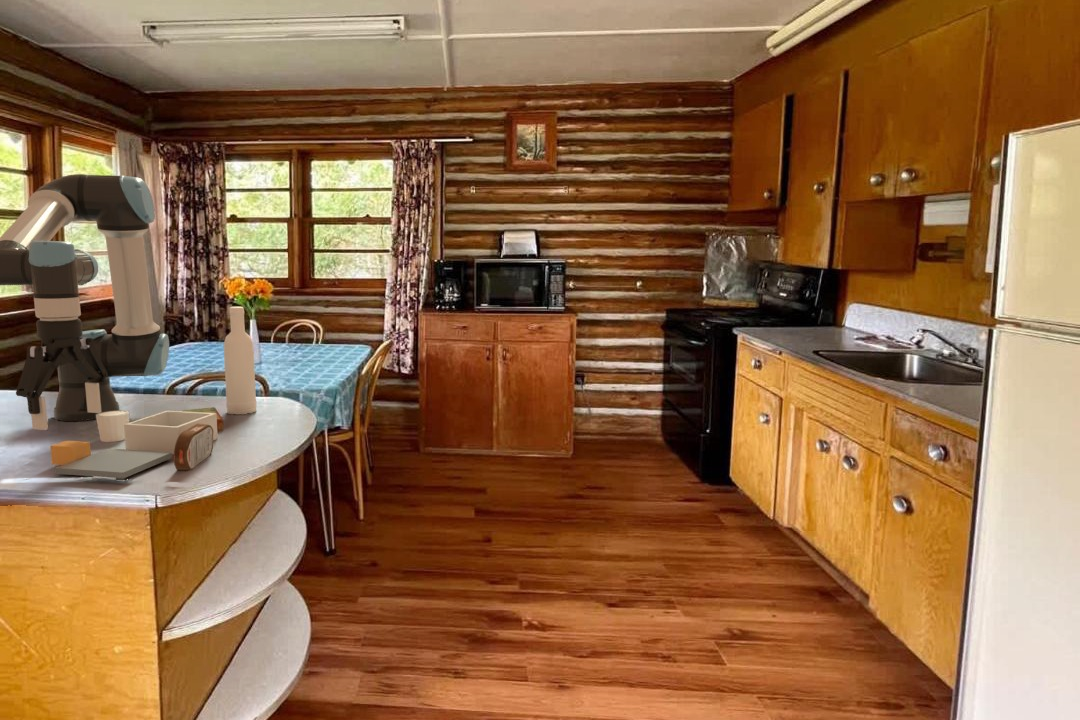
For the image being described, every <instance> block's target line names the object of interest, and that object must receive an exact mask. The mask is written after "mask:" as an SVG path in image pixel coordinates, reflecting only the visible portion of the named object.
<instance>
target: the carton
mask: <svg viewBox="0 0 1080 720" xmlns="http://www.w3.org/2000/svg"><path fill="white" fill-rule="evenodd" d="M182 411H183V412H201V413H216V416H217V432H222V431H224V418H223V417H222V416H221V415H220V413H219V412H218V410H217V408H216V407H215V406H212V407H205V408H203V407H202V408H195V409H194V408H193V409H187V410H182Z"/></svg>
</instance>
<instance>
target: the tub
mask: <svg viewBox="0 0 1080 720" xmlns="http://www.w3.org/2000/svg"><path fill="white" fill-rule="evenodd" d="M183 411H184V410H182V411H179V410H164V411H162V412H159V413H156V414H152V415H149V416H147V417H143V418H141V419H140V418H139V419H136V420H134V421H129V423H127V424H124V430H125V440H124V443H125V450H141V451H157V452H172V456H174V448H175V444H176V441H177V438H178V436H179V435H180V434H181V432H183V431H185V430H187V429H188V428H190V427H192V426H194V425H195V424H198V423H199V424H206V425H210V426H211V427H212V428H213V442H214V441H216V440H218V437H219V435H218V431H217V416H216V413H201V412H183Z"/></svg>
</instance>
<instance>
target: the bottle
mask: <svg viewBox="0 0 1080 720" xmlns="http://www.w3.org/2000/svg"><path fill="white" fill-rule="evenodd" d="M228 313H229V318H230V319H229V320H230V332H229V333H228V334H227V335H226V336H225V338H224V342H223V360H224V376H225V377H224V379H225V397H226V398H225V401H226V404H225V406H226V412H227V414H229V415H233V414H242V415H248V414H247V413H250V414H253V413H252V412H254V413H255V412H257V396H256V395H257V394H256V375H255V372H256V371H255V353H254V342H253V339H252V336H250V334H248V333H247V332H246V329H245V310H244V307H243V306H230V307H229V312H228Z"/></svg>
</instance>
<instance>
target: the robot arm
mask: <svg viewBox="0 0 1080 720" xmlns="http://www.w3.org/2000/svg"><path fill="white" fill-rule="evenodd" d="M155 210H156V209H155V203H154V199H153V196H152V193H151V190H150V188H149V186H148V184H147V183H146V181H144V180H143V179H142V178H139V177H136V176H129V175H127V176H126V175H114V174H113V175H112V174H111V175H110V174H109V175H106V174H105V175H103V174H102V175H101V174H85V173H84V174H83V173H82V174H80V173H75V174H68V175H64V176H61V177H58V178H55V179H53V180H51V181H49V182H46V183H45V184H43V185H42V186H39V188H38V189H36V190H35V191H34V192H33V193H32V194H31V195H30V197H29V199H28V201H27V207H26V209H24V211H23V212H22V213H21V214H20V215H19V216H18V217H17V218H16V219H15V220H14V222H12V224H11V225H10V226H9V227H8V228H7V229H6V230H5V232H4V233H3V234H2V235H0V286H32V293H33V295H32V296H33V302H34V303H33V304H34V313H35V317H36V318H37V319H38V320H37V321H35V322H36V323H35V324H36V334H37V338H38V339H40V340H41V345H40V346H35V345H34V346H33V345H29V346H27V347H26V359H25V362H24V365H23V369H22V371H21V372H22V373H21V375H20V378H19V382H18V385H17V387H16V390H15V395H16V396H17V397H22V398H26V399H27V409H28V411H27V412H28V413H29V414H30V416H31V425H32V429H33V430H41V431H42V430H43V431H46V430H49V425H48V414H47V405H46V397H45V396H41V395H42V394H43V392H44V390H45V388H46V387H47V385H48V383H49V381H50V380H51V377H52V375H53V373H54V371H55V370H57V376H58V385H59V391H58V394H57V398H56V403H55V407H54V408H53V419H54V420H57V421H64V422H81V421H92V420H93V421H94V420H97V419H96V414H98V413H102V412H107V411H121V410H120V404H119V402H118V401H117V399H116V396H115V394H114V391H113V388H112V387H111V381H110V380H111V378H115V377H116V378H118V377H119V378H120V377H121V378H122V377H151V376H158V375H161V374H163V373H164V371H165V369H166V367H167V364H168V360H169V355H170V339H169V335H168V334H167V333H164V332H163V333H162V332H161V331H162V330H161V327H160V325H159V324H157V323H156V322H155V321H154V319H153V318H154V317H153V310H152V301H151V291H150V284H149V283H150V282H149V275H148V274H149V273H148V265H147V264H148V263H147V255H146V250H145V249H146V248H145V240H144V235H145V234H146V233H147V232H148V230H149V229H150V228H149V227H150V226H149V225H150V224H152V223H154V221H155V220H156V219H155V218H156V215H155ZM81 221H82V222H83V221H85V222H96V227H97V230H98V231H99V232H100V233H101V234H103V235H104V237H105V243H106V250H107V251H106V252H107V258H108V266H109V274H110V281H111V289H112V296H113V303H114V309H115V311H114V312H115V318H116V325H115V326H113V328H112V329H111V334H108V332H107V331H106V329H103V328H102V329H92V330H91V329H90V330H83V324H82V319H80V318H79V317H80V316H81V315H82V312H81V310H82V309H81V303H80V301H81V300H80V293H79V286H83V285H86V284H88V283H90V282H92V281H93V280H94V279H95V278H96V277H97V275H98V273H99V264H98V261H97V259H96V258H95V257H94V255H92V254H91V253H89V252H88V251H85V250H81V249H78V248H77V249H75V246H74V244H73V242H71V241H63V240H61V241H60V240H58V241H57V240H52V239H53V238H54V237H55V235H56V234H57V233H58V232H59V230H60V229H61V228H63V227H66V226H68V225H70V224H71V222H81Z"/></svg>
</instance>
